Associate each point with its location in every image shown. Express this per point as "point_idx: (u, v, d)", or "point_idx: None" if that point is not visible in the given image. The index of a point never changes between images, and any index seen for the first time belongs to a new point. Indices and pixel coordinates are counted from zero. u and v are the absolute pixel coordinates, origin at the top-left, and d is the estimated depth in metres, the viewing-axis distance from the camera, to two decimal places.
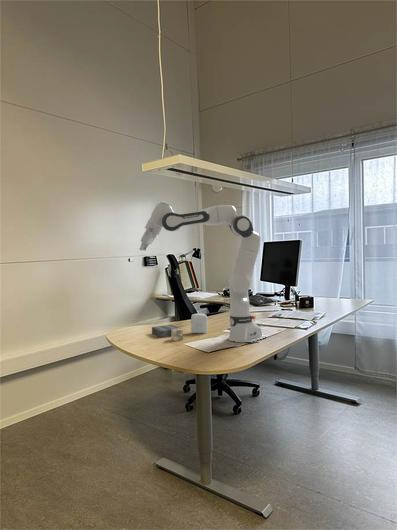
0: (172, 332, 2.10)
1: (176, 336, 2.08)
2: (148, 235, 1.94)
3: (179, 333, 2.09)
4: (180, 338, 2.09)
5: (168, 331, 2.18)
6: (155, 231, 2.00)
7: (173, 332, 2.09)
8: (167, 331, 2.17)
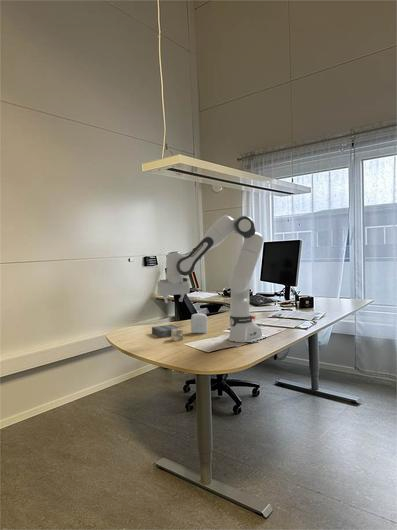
0: (172, 332, 2.10)
1: (176, 336, 2.08)
2: (159, 287, 2.03)
3: (179, 333, 2.09)
4: (180, 338, 2.09)
5: (168, 331, 2.18)
6: (170, 280, 2.05)
7: (173, 332, 2.09)
8: (167, 331, 2.17)
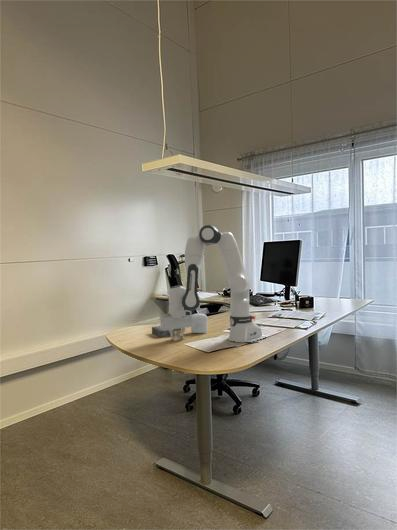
0: (172, 332, 2.10)
1: (176, 336, 2.08)
2: (162, 322, 2.05)
3: (179, 333, 2.09)
4: (180, 338, 2.09)
5: (168, 331, 2.18)
6: (172, 315, 2.06)
7: (173, 332, 2.09)
8: (167, 331, 2.17)
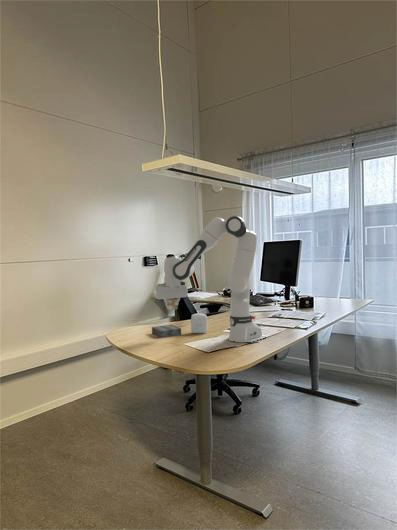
0: (167, 301, 2.14)
1: (171, 305, 2.11)
2: (157, 291, 2.08)
3: (174, 303, 2.12)
4: (175, 307, 2.13)
5: (168, 331, 2.18)
6: (168, 284, 2.10)
7: (168, 301, 2.12)
8: (167, 331, 2.17)
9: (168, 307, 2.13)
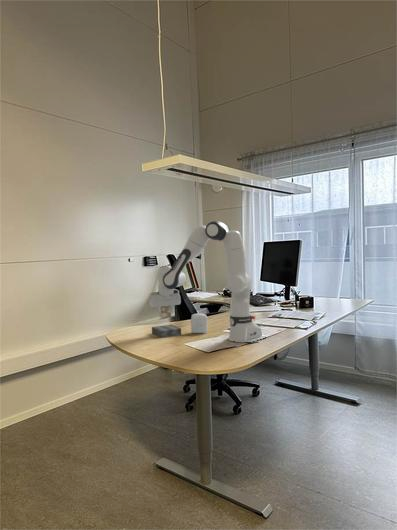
0: (161, 309, 2.24)
1: (164, 313, 2.21)
2: (151, 299, 2.18)
3: (168, 310, 2.22)
4: (168, 315, 2.22)
5: (168, 331, 2.18)
6: (161, 293, 2.20)
7: (162, 309, 2.22)
8: (167, 331, 2.17)
9: (162, 314, 2.23)
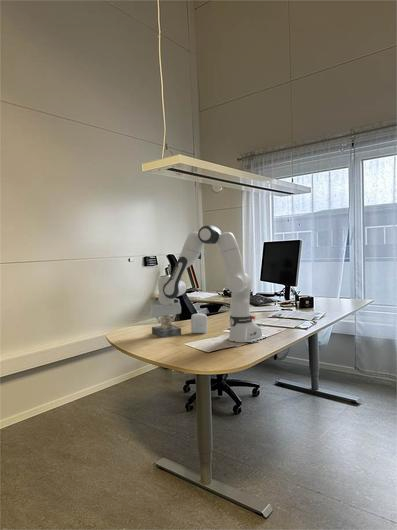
0: (161, 321, 2.24)
1: (165, 324, 2.21)
2: (151, 309, 2.18)
3: (168, 322, 2.22)
4: (169, 326, 2.23)
5: (168, 331, 2.18)
6: (161, 302, 2.20)
7: (162, 321, 2.23)
8: (167, 331, 2.17)
9: (162, 326, 2.23)
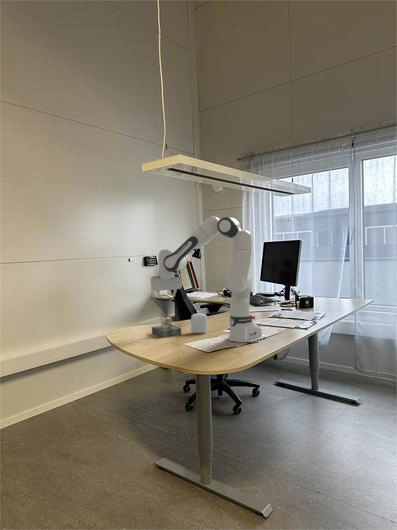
0: (161, 321, 2.24)
1: (165, 324, 2.21)
2: (152, 283, 2.17)
3: (168, 322, 2.22)
4: (169, 326, 2.23)
5: (168, 331, 2.18)
6: (162, 277, 2.19)
7: (162, 321, 2.23)
8: (167, 331, 2.17)
9: (162, 326, 2.23)
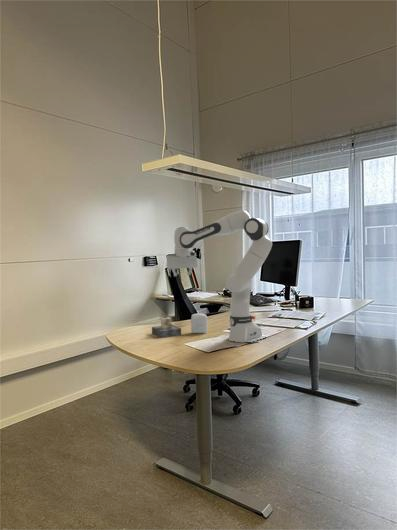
0: (161, 321, 2.24)
1: (165, 324, 2.21)
2: (168, 261, 2.15)
3: (168, 322, 2.22)
4: (169, 326, 2.23)
5: (168, 331, 2.18)
6: (178, 254, 2.17)
7: (162, 321, 2.23)
8: (167, 331, 2.17)
9: (162, 326, 2.23)
